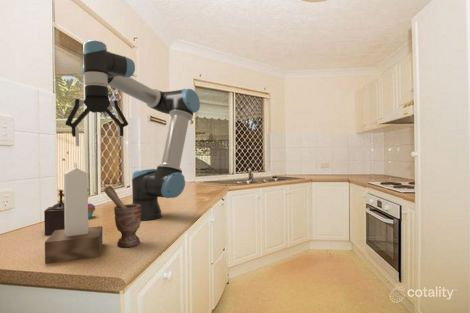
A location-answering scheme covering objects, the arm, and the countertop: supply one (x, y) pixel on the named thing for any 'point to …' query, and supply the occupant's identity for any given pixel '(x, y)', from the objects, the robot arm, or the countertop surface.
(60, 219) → the coffee grinder
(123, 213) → the mortar and pestle
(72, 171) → the milk
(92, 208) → the cupcake
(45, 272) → the countertop surface
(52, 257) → the riser
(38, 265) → the countertop surface
